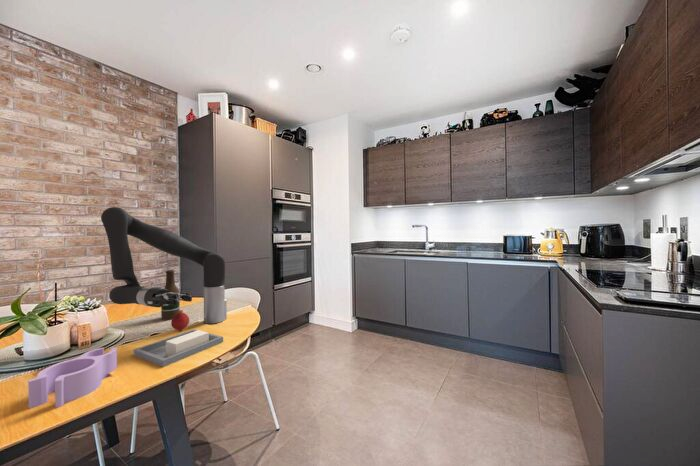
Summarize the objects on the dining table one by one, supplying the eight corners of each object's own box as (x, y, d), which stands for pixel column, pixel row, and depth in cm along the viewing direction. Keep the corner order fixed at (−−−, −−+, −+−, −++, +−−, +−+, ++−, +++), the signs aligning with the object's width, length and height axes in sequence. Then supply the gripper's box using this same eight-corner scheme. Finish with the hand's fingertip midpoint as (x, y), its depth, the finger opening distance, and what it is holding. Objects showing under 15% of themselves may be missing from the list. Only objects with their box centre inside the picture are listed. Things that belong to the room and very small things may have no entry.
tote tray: (194, 336, 117) (193, 329, 117) (223, 344, 108) (223, 336, 108) (133, 357, 97) (133, 349, 97) (163, 370, 89) (163, 360, 89)
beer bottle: (157, 319, 138) (156, 271, 138) (170, 315, 146) (169, 269, 145) (171, 320, 137) (170, 271, 136) (183, 315, 144) (182, 269, 144)
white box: (198, 342, 107) (198, 330, 107) (208, 345, 105) (208, 332, 105) (165, 355, 97) (165, 341, 97) (176, 359, 94) (176, 344, 94)
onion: (180, 334, 103) (180, 313, 103) (167, 333, 104) (167, 311, 104) (192, 329, 108) (192, 308, 108) (180, 327, 110) (180, 307, 110)
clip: (89, 369, 90) (89, 347, 90) (129, 368, 90) (128, 347, 90) (17, 409, 70) (16, 381, 70) (68, 408, 70) (68, 380, 70)
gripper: (133, 291, 104) (165, 294, 98) (170, 283, 118) (200, 286, 112) (133, 311, 104) (165, 316, 98) (170, 301, 118) (200, 305, 112)
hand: (184, 300), depth 105 cm, fingers open, 5 cm apart
